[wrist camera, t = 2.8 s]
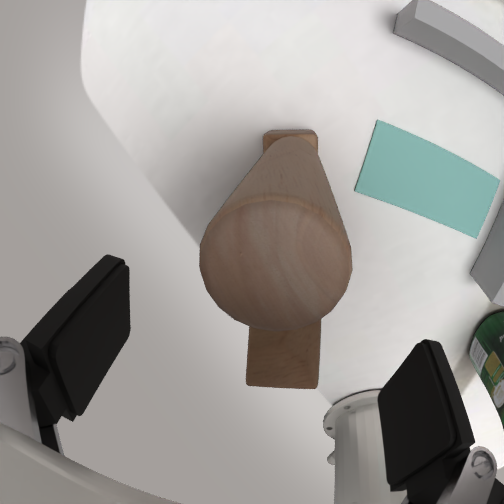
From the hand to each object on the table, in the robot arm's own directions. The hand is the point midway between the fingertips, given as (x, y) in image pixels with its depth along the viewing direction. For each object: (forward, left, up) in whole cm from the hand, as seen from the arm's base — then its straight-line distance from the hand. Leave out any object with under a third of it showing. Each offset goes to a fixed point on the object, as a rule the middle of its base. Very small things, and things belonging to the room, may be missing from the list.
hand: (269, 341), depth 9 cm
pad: (+5, -11, -17) cm, 21 cm away
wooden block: (0, 0, -17) cm, 17 cm away
